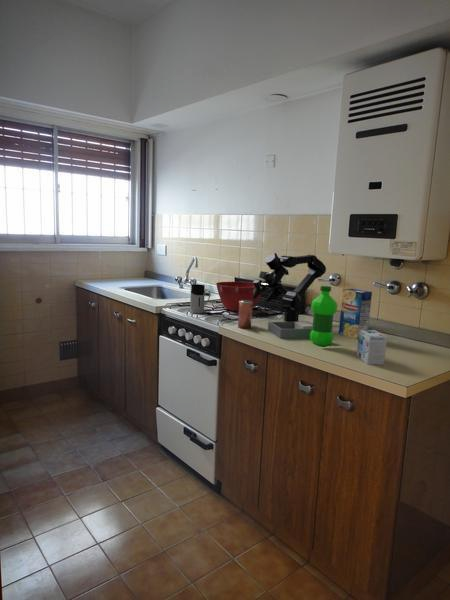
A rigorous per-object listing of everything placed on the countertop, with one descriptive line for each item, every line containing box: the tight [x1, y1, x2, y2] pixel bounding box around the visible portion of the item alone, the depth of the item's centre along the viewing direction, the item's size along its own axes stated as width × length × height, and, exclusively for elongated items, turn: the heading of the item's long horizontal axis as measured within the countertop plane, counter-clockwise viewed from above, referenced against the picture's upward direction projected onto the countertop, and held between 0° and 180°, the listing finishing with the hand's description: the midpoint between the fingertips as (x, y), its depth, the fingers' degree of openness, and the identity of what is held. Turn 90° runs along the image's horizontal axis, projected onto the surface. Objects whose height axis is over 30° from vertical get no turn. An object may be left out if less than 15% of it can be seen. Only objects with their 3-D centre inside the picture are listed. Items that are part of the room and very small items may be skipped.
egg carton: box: [294, 321, 313, 329], centre depth 193 cm, size 6×9×5 cm
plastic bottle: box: [309, 285, 338, 348], centre depth 176 cm, size 10×10×25 cm
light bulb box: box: [356, 329, 388, 366], centre depth 159 cm, size 11×7×11 cm, turn 5°
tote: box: [267, 321, 313, 340], centre depth 192 cm, size 20×15×5 cm
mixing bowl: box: [215, 281, 262, 312], centre depth 250 cm, size 28×28×16 cm
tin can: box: [237, 300, 253, 330], centre depth 204 cm, size 6×6×13 cm
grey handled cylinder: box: [189, 283, 211, 314], centre depth 236 cm, size 9×14×15 cm, turn 46°
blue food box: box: [338, 288, 373, 341], centre depth 193 cm, size 7×11×22 cm, turn 34°
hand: (259, 299), depth 207 cm, fingers open, 9 cm apart
